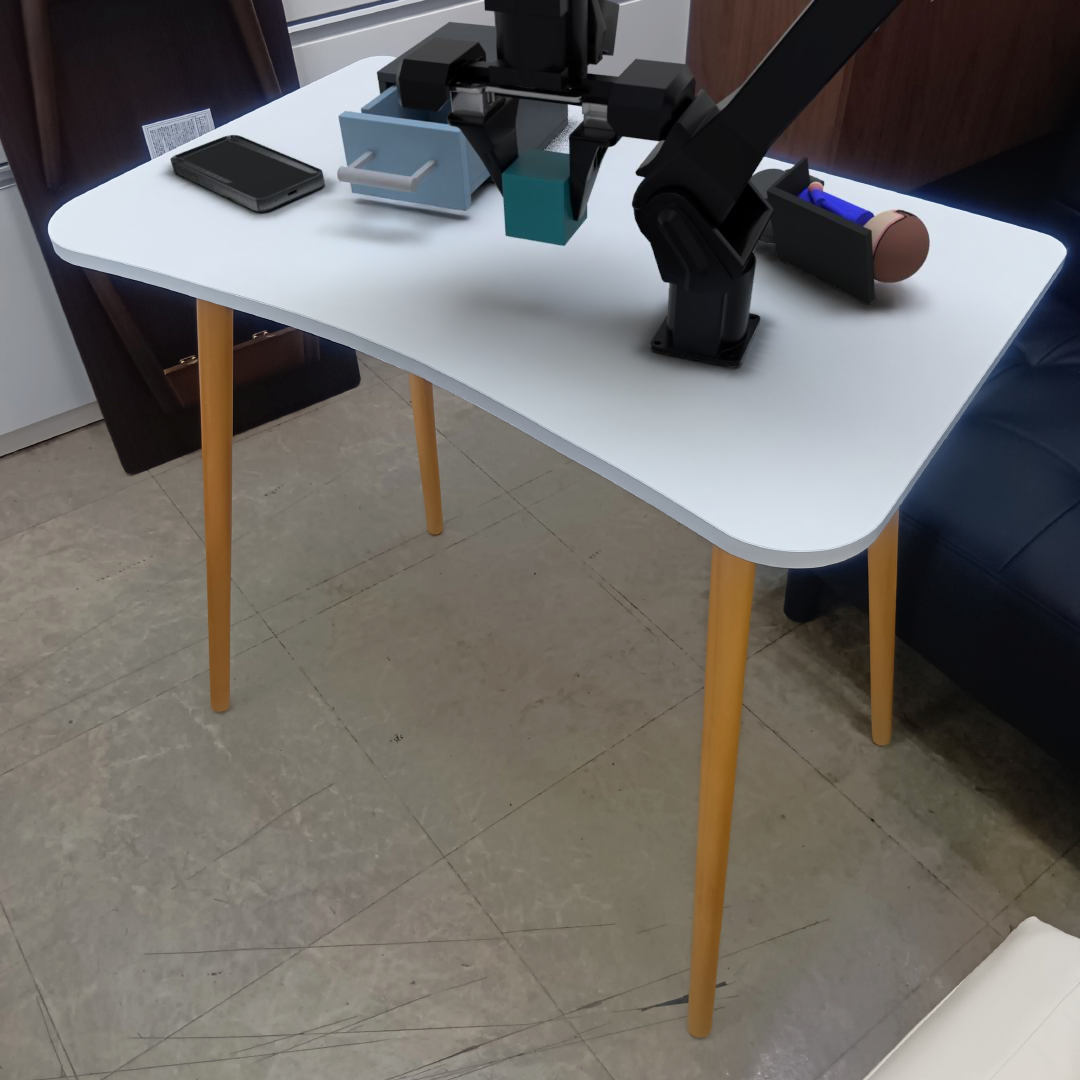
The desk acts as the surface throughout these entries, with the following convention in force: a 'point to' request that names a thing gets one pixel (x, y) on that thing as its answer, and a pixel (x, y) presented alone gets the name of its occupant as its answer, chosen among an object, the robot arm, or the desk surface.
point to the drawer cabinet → (533, 117)
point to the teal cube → (539, 198)
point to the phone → (248, 172)
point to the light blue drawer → (409, 154)
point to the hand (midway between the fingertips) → (546, 213)
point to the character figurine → (838, 234)
